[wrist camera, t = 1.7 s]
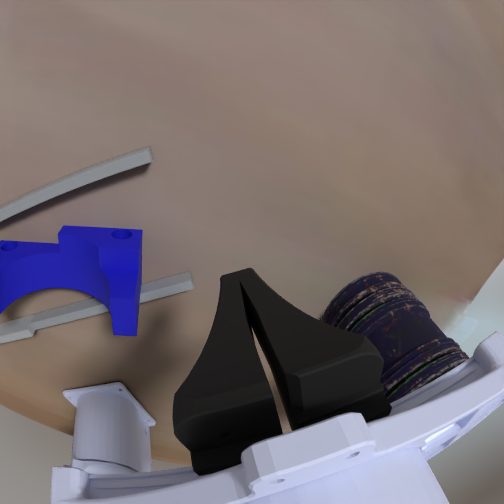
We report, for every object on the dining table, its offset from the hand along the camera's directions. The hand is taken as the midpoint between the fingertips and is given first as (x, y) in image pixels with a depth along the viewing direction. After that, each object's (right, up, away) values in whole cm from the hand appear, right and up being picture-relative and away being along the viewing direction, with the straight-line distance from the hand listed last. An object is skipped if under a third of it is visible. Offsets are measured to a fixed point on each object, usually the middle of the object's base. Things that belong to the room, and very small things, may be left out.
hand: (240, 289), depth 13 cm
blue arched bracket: (-13, +2, +7) cm, 15 cm away
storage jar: (+12, -4, +17) cm, 21 cm away
